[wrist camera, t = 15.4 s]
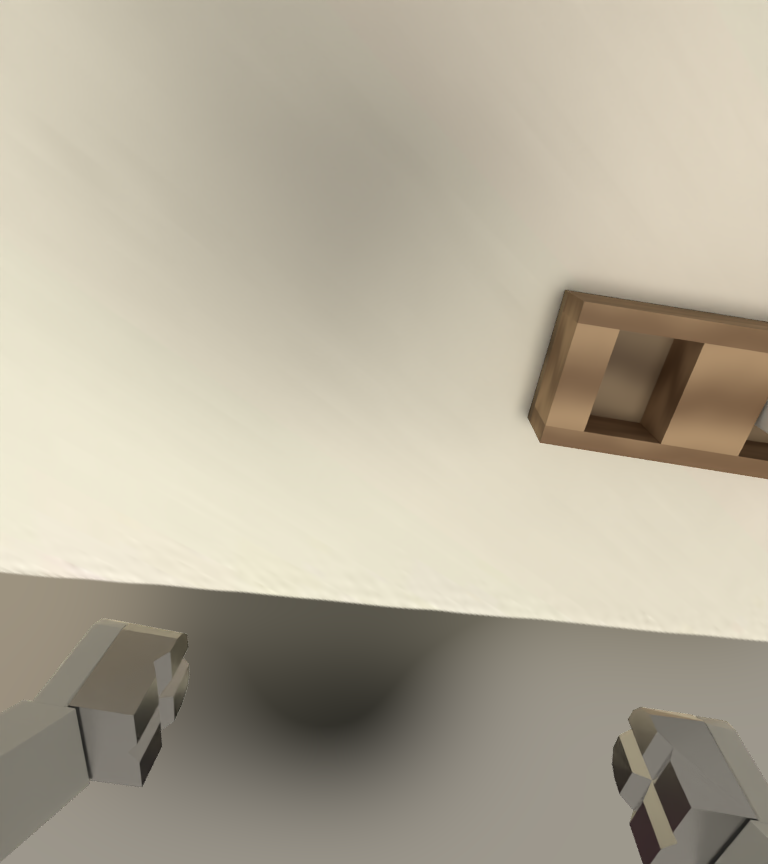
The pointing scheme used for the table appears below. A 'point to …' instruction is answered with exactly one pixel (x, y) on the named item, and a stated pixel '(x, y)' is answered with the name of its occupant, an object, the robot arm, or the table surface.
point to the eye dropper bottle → (763, 418)
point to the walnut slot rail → (655, 384)
